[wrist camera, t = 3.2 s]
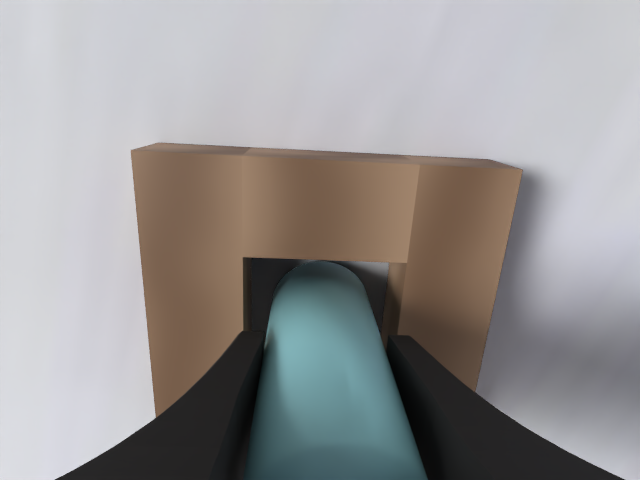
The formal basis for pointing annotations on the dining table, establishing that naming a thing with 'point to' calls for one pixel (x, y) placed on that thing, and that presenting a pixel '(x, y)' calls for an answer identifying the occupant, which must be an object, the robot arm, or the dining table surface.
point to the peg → (327, 387)
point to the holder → (316, 244)
